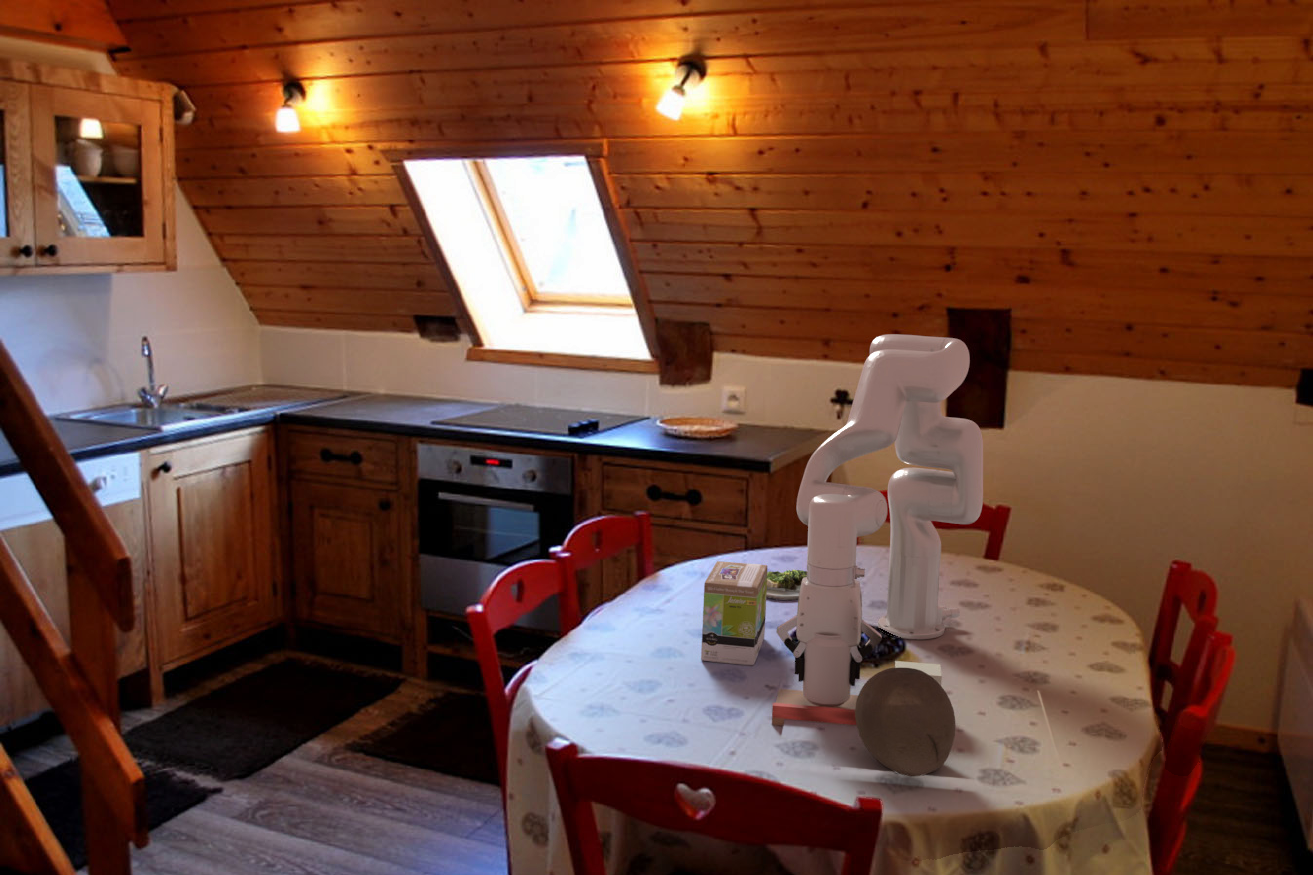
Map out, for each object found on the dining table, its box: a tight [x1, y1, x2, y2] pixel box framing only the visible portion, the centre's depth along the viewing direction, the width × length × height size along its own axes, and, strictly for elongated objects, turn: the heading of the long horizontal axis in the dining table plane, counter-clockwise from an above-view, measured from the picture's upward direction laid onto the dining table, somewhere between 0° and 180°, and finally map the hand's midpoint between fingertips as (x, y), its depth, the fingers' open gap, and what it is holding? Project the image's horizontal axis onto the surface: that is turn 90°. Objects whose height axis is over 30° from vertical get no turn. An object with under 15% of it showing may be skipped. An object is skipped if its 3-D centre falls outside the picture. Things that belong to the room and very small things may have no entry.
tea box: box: [700, 560, 768, 666], centre depth 222 cm, size 15×10×15 cm, turn 168°
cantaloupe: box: [855, 667, 956, 778], centre depth 174 cm, size 14×14×15 cm
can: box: [802, 633, 853, 707], centre depth 193 cm, size 8×8×12 cm
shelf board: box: [771, 688, 859, 727], centre depth 194 cm, size 26×12×3 cm, turn 79°
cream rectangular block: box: [894, 660, 943, 686], centre depth 191 cm, size 7×5×8 cm
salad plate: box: [766, 569, 807, 601], centre depth 259 cm, size 19×18×5 cm
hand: (826, 679), depth 194 cm, fingers closed on can, 7 cm apart
